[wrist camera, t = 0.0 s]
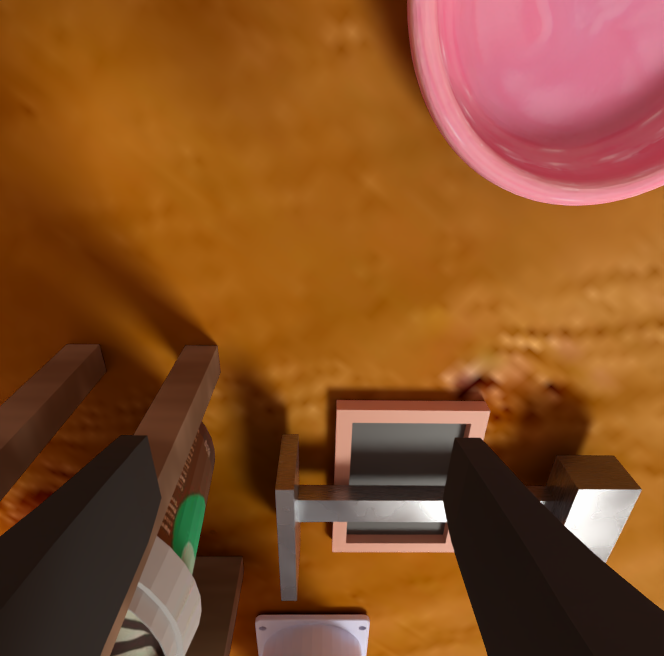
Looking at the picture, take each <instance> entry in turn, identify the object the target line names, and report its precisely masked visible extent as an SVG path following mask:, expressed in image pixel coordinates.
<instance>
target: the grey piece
mask: <svg viewBox="0 0 664 656" xmlns="http://www.w3.org/2000/svg"><path fill="white" fill-rule="evenodd" d="M526 487H527V488H528V489H529V490H530V491H531V492H532V494H533V495H534V496H535V497H536V498H537V499H538V500H539V501H540V502H541V503H542V504H543V505H544V506H545V507H546V508H547V509H548V510H549V511H550V512H551V513H552V514H553V515H554V516H555V517H556V518H557V519H558V520H559V521H560V522H561V523H562V524H563V525H564V526H565V527H566V528H567V529H569V530H570V531H571V532H572V533H573V534H574V535H575V536H576V537H577V538H578V539H579V540H580V541H582V542H583V543H584V544H585V545H586V546H587V547H588V548H589V549H590V550H591V551H592V552H593V553H595V554H596V555H597V556H598V557H599V558H600V559H601V560H602V561H604V562H605V563H606V561H607V559H608V557H609V555H610V553H611V551H612V549H613V547H614V545H615V543H616V541H617V539H618V537H619V535H620V533H621V531H622V529H623V527H624V525H625V523H626V521H627V519H628V517H629V515H630V513H631V511H632V509H633V507H634V505H635V503H636V501H637V499H638V497H639V494H640V492H641V490H642V489H641V488H640V487H639V485H638V484H637V483H636V482H635V481H634V479H633V478H632V477H631V476H630V475H629V473H628V472H627V471H626V470H625V468H624V467H623V466H622V465H621V464H620V462H619V461H618V460H617V459H616V457H615V456H597V455H556V458H555V460H554V463H553V466H552V469H551V472H550V475H549V478H548V480H547V483H546V486H526ZM444 489H445V486H419V485H299V441H298V434H282V441H281V449H280V456H279V464H278V472H277V479H276V487H275V497H276V514H277V532H278V550H279V567H280V585H281V601H297V591H298V574H299V556H300V522H447V520H446V514H445V509H444V504H443V494H444Z"/></svg>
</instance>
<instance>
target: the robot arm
mask: <svg viewBox="0 0 664 656" xmlns="http://www.w3.org/2000/svg"><path fill="white" fill-rule="evenodd" d="M161 498H162V497H161V493H160V488H159V484H158V480H157V475H156V471H155V467H154V462H153V458H152V454H151V449H150V445H149V441H148V436H147V435H121V436H119V437H118V438H117V439H116V440H115V441H113V442H112V443H111V444H110V445H109V446H108V447H106V448H105V449H104V450H103V451H102V452H101V453H100V454H98V455H97V456H96V457H95V458H94V459H93V460H92V461H90V462H89V463H88V464H87V465H86V466H85V467H84V468H82V469H81V470H80V471H79V472H78V473H77V474H76V475H74V476H73V477H72V478H71V479H70V480H69V481H67V482H66V483H65V484H64V485H63V486H61V487H60V488H59V489H58V490H57V491H56V492H54V493H53V494H52V495H51V496H50V497H49V498H47V499H46V500H45V501H44V502H43V503H41V504H40V505H39V506H38V507H37V508H35V509H34V510H33V511H32V512H30V513H29V514H28V515H27V516H25V517H24V518H23V519H22V520H20V521H19V522H18V523H16V524H15V525H14V526H13V527H11V528H10V529H9V530H8V531H6V532H5V533H4V534H3V535H1V536H0V656H101V653H102V650H103V648H104V645H105V643H106V641H107V638H108V636H109V634H110V631H111V629H112V627H113V625H114V622H115V620H116V618H117V615H118V613H119V611H120V608H121V606H122V604H123V601H124V599H125V597H126V594H127V592H128V590H129V587H130V585H131V583H132V580H133V578H134V576H135V573H136V571H137V568H138V566H139V564H140V561H141V559H142V557H143V554H144V552H145V549H146V547H147V545H148V542H149V539H150V536H151V533H152V529H153V526H154V523H155V519H156V516H157V512H158V509H159V505H160V502H161ZM443 504H444V509H445V514H446V520H447V524H448V529H449V534H450V538H451V543H452V546H453V549H454V552H455V556H456V559H457V562H458V565H459V568H460V571H461V574H462V577H463V580H464V583H465V587H466V590H467V593H468V596H469V599H470V602H471V605H472V608H473V611H474V614H475V617H476V620H477V623H478V626H479V629H480V632H481V636H482V639H483V642H484V645H485V648H486V651H487V655H488V656H664V611H663V610H662V609H660V608H659V607H658V606H657V605H655V604H654V603H653V602H651V601H650V600H649V599H648V598H647V597H645V596H644V595H643V594H642V593H640V592H639V591H638V590H637V589H636V588H634V587H633V586H632V585H631V584H630V583H628V582H627V581H626V580H625V579H624V578H622V577H621V576H620V575H619V574H618V573H616V572H615V571H614V570H613V569H612V568H610V567H609V566H608V565H607V564H606V563H605V562H604V561H602V560H601V559H600V558H599V557H598V556H597V555H596V554H595V553H593V552H592V551H591V550H590V549H589V548H588V547H587V546H586V545H585V544H584V543H583V542H582V541H580V540H579V539H578V538H577V537H576V536H575V535H574V534H573V533H572V532H571V531H570V530H569V529H567V528H566V527H565V526H564V525H563V524H562V523H561V522H560V521H559V520H558V519H557V518H556V517H555V516H554V515H553V514H552V513H551V512H550V511H549V510H548V509H547V508H546V507H545V506H544V505H543V504H542V503H541V502H540V501H539V500H538V499H537V498H536V497H535V496H534V495H533V494H532V492H531V491H530V490H529V489H528V488H527V487H526V486H525V485H524V484H523V483H522V482H521V481H520V480H519V479H518V478H517V477H516V476H515V474H514V473H513V472H512V471H511V470H510V469H509V468H508V467H507V466H506V465H505V464H504V463H503V462H502V460H501V459H500V458H499V457H498V456H497V455H496V454H495V453H494V452H493V451H492V450H491V449H490V447H489V446H488V445H487V444H486V443H485V442H484V441H483V440H482V439H481V438H461V437H455V438H454V443H453V448H452V453H451V458H450V463H449V468H448V473H447V478H446V483H445V489H444V494H443ZM369 626H370V621H369V617H368V616H367V615H363V614H356V615H259V616H257V617H256V621H255V627H256V636H257V645H258V655H259V656H366V653H367V644H368V635H369Z"/></svg>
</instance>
